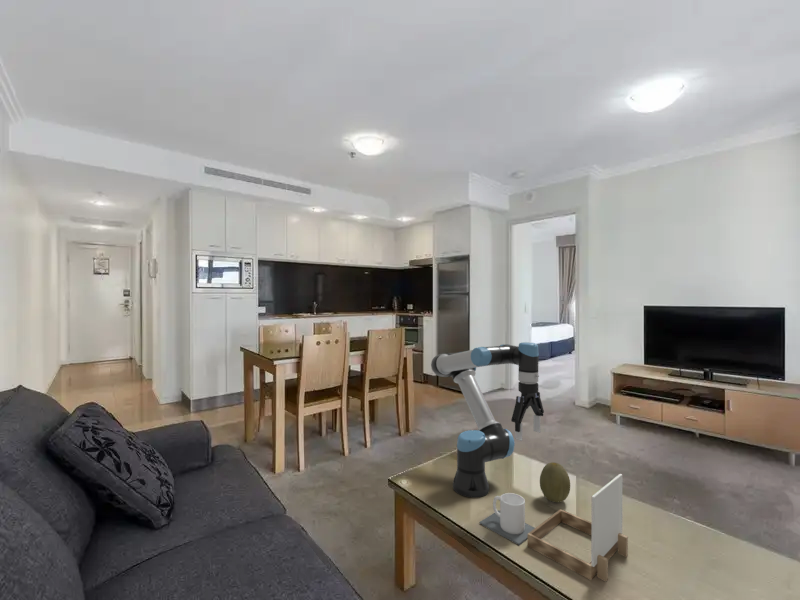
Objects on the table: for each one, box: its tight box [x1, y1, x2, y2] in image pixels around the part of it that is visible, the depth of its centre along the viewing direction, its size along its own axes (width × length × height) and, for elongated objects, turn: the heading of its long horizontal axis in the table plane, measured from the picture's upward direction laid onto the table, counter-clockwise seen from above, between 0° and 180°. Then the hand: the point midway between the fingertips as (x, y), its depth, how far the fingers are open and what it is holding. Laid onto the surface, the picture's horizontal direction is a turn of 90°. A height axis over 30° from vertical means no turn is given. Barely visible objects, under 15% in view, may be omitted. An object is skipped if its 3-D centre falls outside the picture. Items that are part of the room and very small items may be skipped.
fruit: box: [539, 461, 571, 503], centre depth 153 cm, size 11×11×15 cm
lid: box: [590, 473, 629, 582], centre depth 116 cm, size 3×22×24 cm, turn 131°
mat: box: [478, 509, 536, 546], centre depth 135 cm, size 16×12×1 cm
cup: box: [492, 492, 526, 534], centre depth 135 cm, size 8×12×10 cm
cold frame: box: [526, 509, 618, 581], centre depth 124 cm, size 20×23×4 cm
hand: (528, 435), depth 151 cm, fingers open, 13 cm apart
